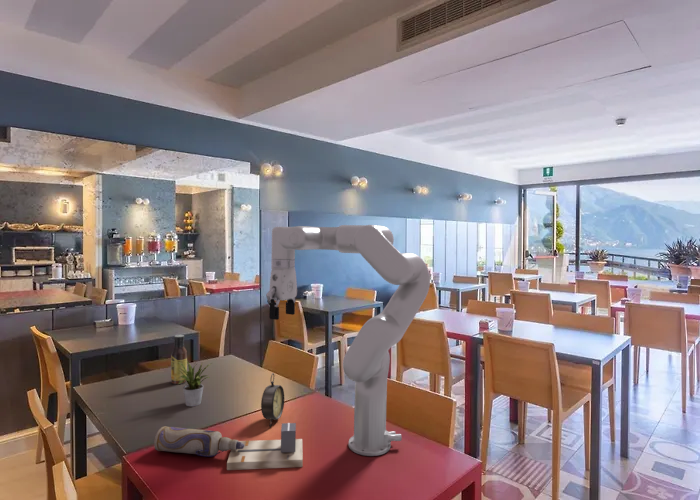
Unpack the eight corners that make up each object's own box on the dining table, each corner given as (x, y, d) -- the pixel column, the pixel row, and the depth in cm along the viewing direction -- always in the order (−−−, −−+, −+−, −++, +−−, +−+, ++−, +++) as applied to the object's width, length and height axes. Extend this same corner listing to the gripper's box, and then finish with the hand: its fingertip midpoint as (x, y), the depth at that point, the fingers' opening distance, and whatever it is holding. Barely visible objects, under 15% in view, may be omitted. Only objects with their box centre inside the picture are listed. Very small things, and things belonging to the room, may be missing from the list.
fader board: (302, 445, 130) (302, 438, 130) (302, 466, 118) (302, 459, 118) (233, 448, 128) (233, 441, 128) (226, 470, 116) (226, 462, 116)
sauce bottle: (171, 380, 185) (171, 333, 184) (187, 379, 187) (187, 333, 186) (170, 385, 179) (170, 337, 178) (186, 384, 180) (186, 336, 180)
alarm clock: (273, 428, 141) (274, 379, 140) (257, 427, 142) (258, 377, 141) (285, 415, 151) (285, 369, 151) (270, 413, 153) (271, 367, 152)
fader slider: (295, 443, 126) (295, 422, 126) (295, 451, 121) (295, 430, 121) (281, 443, 126) (281, 423, 125) (280, 452, 121) (281, 430, 121)
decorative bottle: (151, 456, 122) (151, 432, 122) (168, 443, 130) (167, 421, 129) (237, 464, 117) (237, 440, 117) (249, 450, 125) (248, 427, 124)
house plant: (160, 408, 155) (160, 363, 154) (183, 395, 168) (183, 353, 168) (195, 413, 152) (195, 367, 151) (216, 399, 165) (217, 356, 164)
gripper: (278, 266, 133) (277, 322, 133) (306, 263, 149) (305, 313, 149) (257, 265, 136) (257, 320, 136) (287, 262, 152) (286, 311, 152)
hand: (282, 316), depth 143 cm, fingers open, 9 cm apart
